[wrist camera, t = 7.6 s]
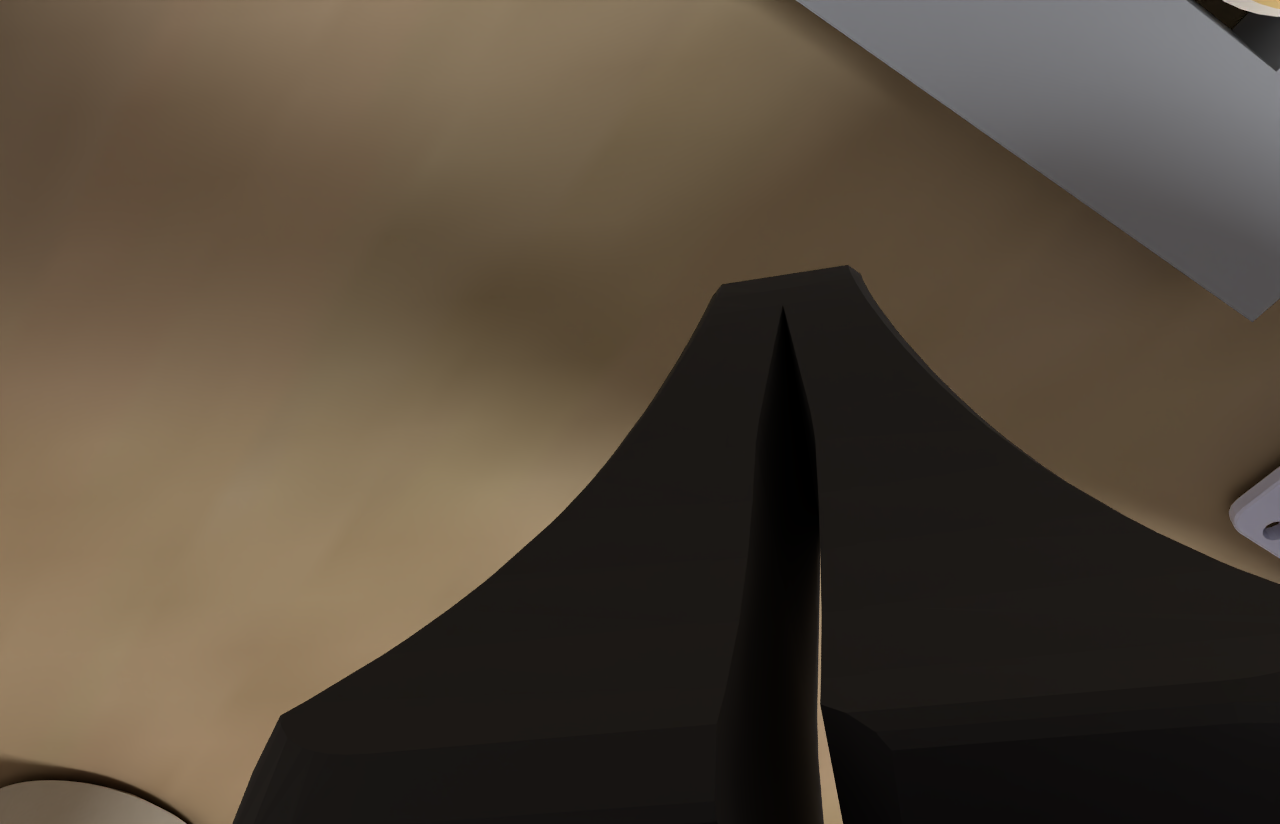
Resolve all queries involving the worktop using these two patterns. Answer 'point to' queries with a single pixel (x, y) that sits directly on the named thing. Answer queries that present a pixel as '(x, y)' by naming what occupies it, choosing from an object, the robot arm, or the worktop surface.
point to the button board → (1115, 114)
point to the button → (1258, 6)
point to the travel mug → (76, 805)
